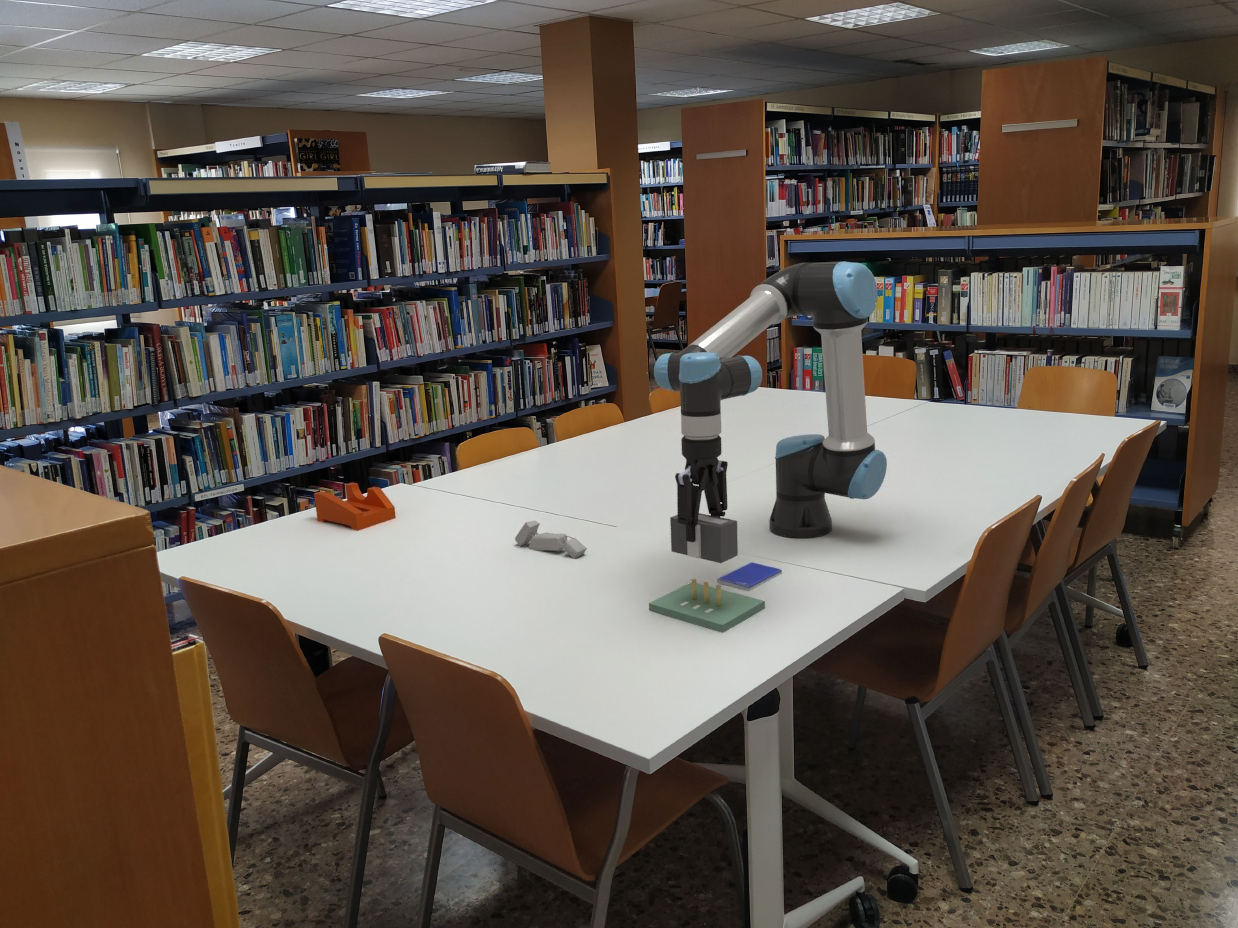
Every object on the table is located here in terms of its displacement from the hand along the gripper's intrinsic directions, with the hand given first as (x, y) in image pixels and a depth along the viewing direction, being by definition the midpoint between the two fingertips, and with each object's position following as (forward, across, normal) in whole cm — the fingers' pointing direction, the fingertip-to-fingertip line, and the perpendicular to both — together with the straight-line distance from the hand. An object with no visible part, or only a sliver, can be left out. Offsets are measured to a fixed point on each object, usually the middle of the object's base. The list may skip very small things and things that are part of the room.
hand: (704, 552), depth 181 cm
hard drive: (+13, -19, -3) cm, 23 cm away
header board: (+12, 0, 0) cm, 12 cm away
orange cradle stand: (+13, +5, -116) cm, 117 cm away
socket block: (0, 0, 0) cm, 0 cm away
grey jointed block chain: (+12, -8, -52) cm, 54 cm away
